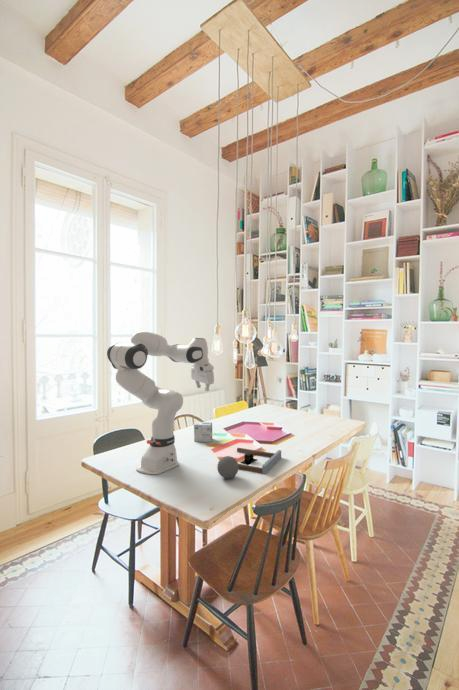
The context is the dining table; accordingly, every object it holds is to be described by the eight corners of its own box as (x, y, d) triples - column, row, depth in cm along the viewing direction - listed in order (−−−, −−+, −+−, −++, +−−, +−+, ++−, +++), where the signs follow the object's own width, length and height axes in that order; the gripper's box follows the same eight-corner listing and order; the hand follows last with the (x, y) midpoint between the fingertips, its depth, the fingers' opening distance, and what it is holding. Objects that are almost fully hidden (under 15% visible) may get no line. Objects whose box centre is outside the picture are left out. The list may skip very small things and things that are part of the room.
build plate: (247, 467, 186) (247, 458, 186) (236, 464, 191) (235, 455, 190) (261, 460, 196) (260, 451, 196) (249, 457, 200) (249, 448, 200)
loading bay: (265, 474, 176) (265, 466, 176) (218, 465, 188) (218, 457, 187) (281, 457, 198) (281, 450, 197) (238, 450, 209) (238, 443, 209)
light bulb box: (212, 438, 232) (212, 421, 231) (211, 442, 225) (210, 424, 224) (196, 438, 233) (195, 421, 232) (193, 441, 226) (193, 424, 225)
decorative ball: (241, 480, 170) (241, 459, 169) (221, 483, 167) (221, 462, 166) (234, 472, 179) (233, 452, 179) (214, 475, 176) (214, 454, 175)
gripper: (187, 364, 216) (189, 387, 218) (205, 369, 199) (207, 393, 201) (197, 362, 219) (198, 385, 221) (215, 367, 202) (216, 391, 204)
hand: (202, 389), depth 211 cm, fingers open, 8 cm apart
